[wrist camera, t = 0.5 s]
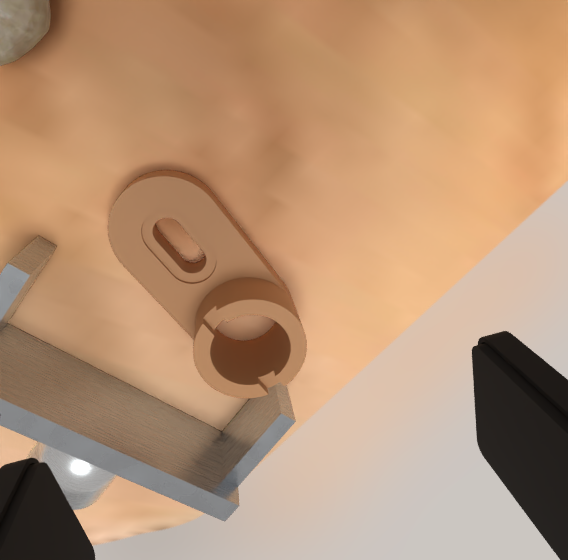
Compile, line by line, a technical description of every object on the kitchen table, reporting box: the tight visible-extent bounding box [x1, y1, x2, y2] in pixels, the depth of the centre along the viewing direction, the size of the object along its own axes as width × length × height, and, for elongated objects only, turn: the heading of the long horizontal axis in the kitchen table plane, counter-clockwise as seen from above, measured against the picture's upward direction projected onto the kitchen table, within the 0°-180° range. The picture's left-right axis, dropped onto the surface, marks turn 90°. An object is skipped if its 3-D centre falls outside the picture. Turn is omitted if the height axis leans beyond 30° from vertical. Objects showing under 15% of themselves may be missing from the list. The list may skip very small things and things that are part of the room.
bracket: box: [108, 170, 307, 398], centre depth 36 cm, size 18×8×7 cm, turn 35°
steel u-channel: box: [0, 236, 296, 521], centre depth 38 cm, size 16×24×8 cm, turn 52°
